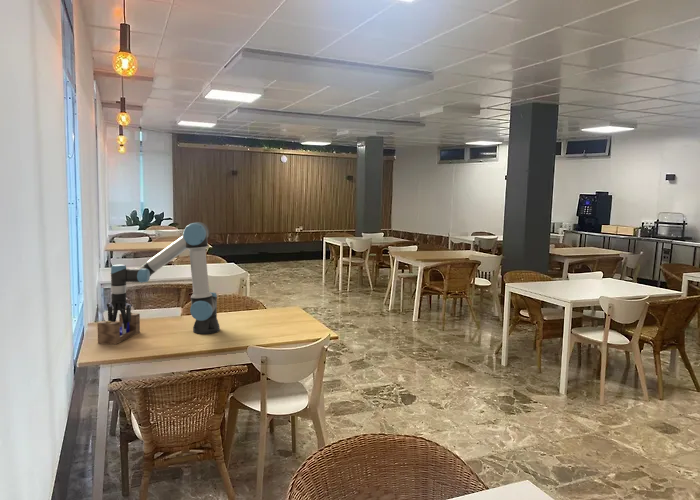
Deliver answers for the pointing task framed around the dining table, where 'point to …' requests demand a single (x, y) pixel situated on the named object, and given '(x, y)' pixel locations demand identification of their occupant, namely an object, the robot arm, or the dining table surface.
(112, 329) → the wooden crate
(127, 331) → the cable clip
